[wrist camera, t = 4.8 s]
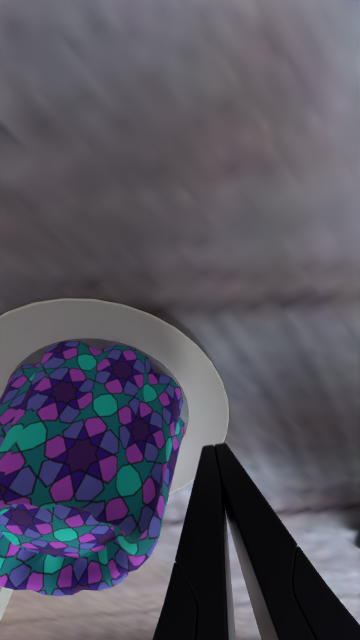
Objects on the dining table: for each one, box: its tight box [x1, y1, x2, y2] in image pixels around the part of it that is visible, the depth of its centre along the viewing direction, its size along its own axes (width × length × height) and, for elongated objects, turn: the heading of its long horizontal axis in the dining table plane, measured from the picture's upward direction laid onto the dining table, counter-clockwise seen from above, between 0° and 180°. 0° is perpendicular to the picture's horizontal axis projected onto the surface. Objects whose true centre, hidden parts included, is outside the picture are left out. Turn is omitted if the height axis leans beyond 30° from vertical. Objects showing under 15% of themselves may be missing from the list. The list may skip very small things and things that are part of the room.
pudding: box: [0, 298, 229, 596], centre depth 9 cm, size 12×12×5 cm
